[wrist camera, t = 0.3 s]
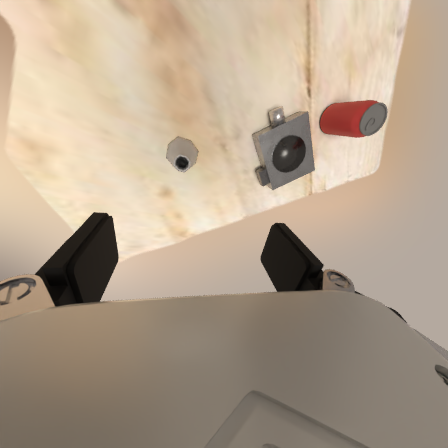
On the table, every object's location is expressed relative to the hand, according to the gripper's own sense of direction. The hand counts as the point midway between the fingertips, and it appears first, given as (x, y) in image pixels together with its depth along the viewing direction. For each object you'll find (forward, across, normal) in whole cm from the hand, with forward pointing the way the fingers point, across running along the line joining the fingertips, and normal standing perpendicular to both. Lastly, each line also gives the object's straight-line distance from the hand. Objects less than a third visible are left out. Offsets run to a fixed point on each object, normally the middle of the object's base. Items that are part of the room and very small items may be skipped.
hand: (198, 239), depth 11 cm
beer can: (+37, -34, -12) cm, 52 cm away
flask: (+37, +1, +1) cm, 37 cm away
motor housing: (+37, -22, -3) cm, 43 cm away
